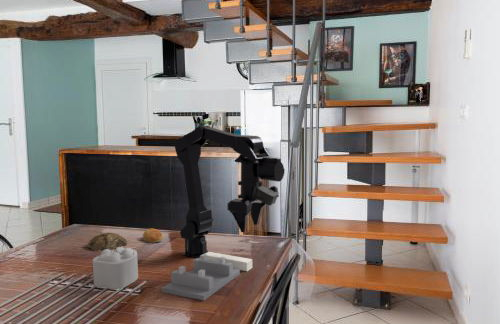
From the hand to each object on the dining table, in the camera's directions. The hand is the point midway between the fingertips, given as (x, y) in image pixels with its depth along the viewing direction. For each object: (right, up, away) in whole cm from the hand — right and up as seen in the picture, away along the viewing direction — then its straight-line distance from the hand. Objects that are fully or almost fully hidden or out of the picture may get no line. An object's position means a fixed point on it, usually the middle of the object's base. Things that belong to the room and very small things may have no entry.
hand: (249, 228), depth 132 cm
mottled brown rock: (-52, -11, +25) cm, 58 cm away
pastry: (-36, -10, +32) cm, 49 cm away
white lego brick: (-38, -14, -8) cm, 41 cm away
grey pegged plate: (-13, -14, -11) cm, 22 cm away
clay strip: (-7, -12, +3) cm, 14 cm away
